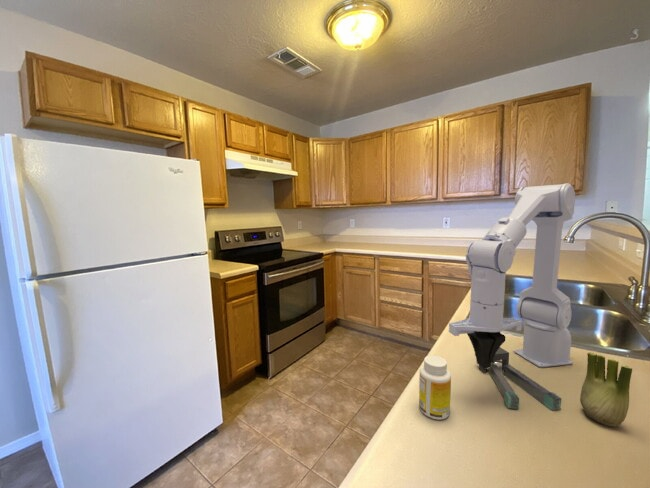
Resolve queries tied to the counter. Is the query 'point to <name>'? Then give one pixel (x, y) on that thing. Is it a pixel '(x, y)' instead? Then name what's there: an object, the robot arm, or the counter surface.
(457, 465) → the counter surface
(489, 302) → the robot arm
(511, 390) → the bar
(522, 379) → the tongs base
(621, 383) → the fennel bulb
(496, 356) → the grey stepped block
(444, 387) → the supplement bottle
